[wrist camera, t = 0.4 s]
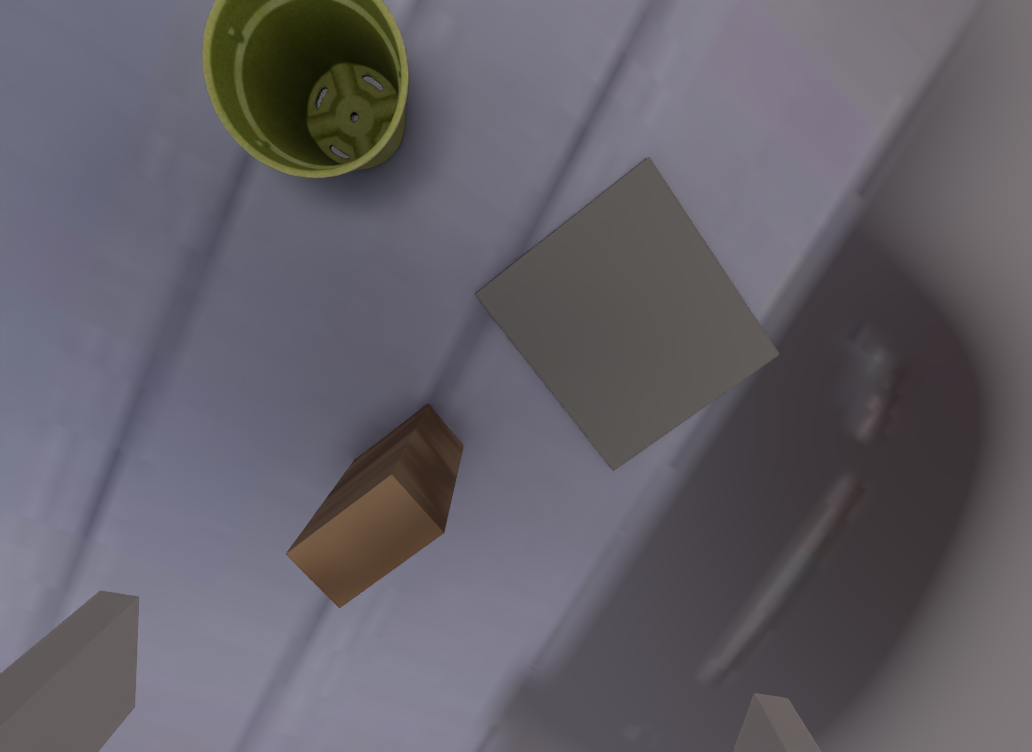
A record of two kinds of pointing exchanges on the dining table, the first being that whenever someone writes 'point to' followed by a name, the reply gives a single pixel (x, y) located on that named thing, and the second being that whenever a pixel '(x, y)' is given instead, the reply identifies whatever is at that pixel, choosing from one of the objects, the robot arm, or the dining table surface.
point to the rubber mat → (628, 317)
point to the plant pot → (307, 81)
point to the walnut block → (382, 508)
